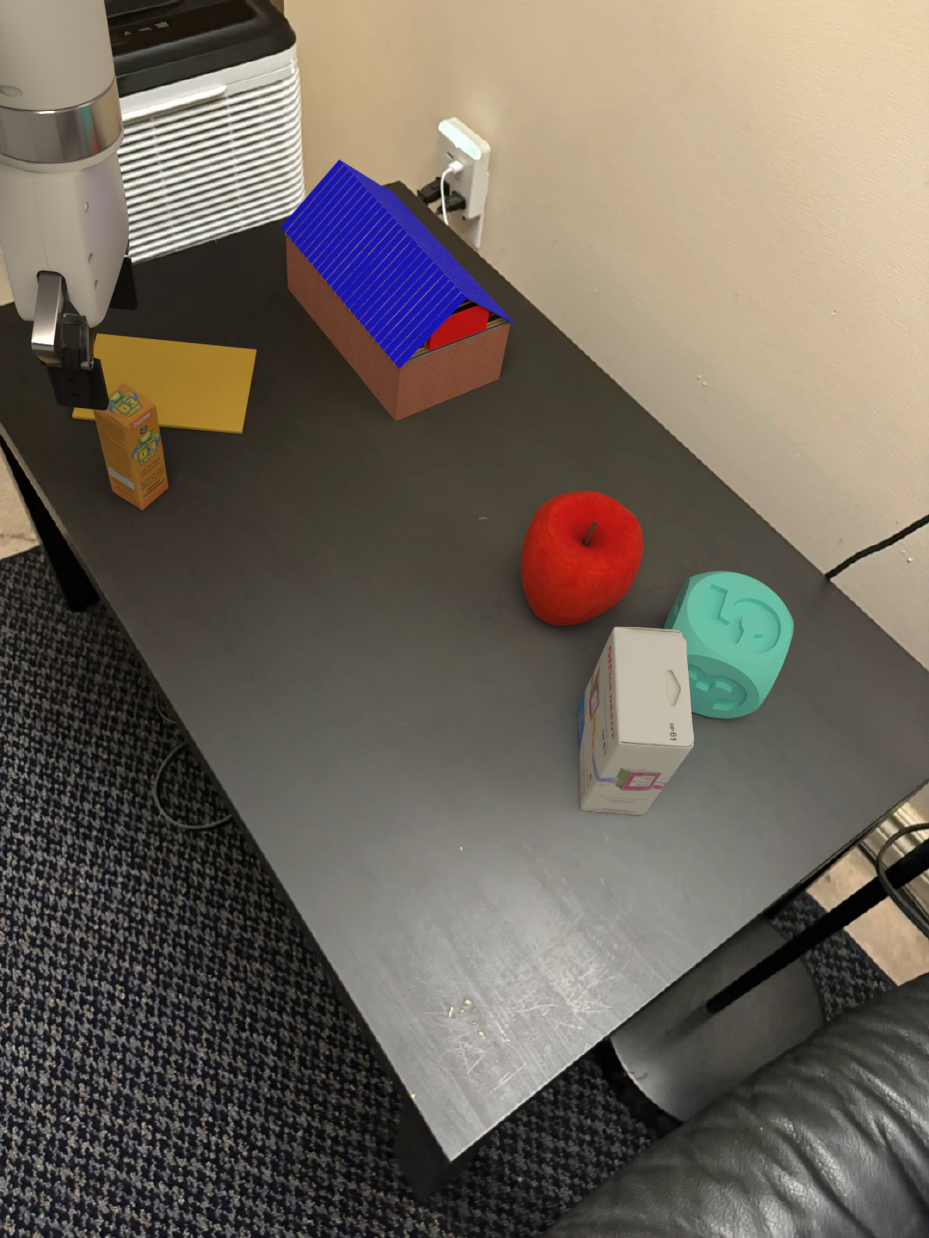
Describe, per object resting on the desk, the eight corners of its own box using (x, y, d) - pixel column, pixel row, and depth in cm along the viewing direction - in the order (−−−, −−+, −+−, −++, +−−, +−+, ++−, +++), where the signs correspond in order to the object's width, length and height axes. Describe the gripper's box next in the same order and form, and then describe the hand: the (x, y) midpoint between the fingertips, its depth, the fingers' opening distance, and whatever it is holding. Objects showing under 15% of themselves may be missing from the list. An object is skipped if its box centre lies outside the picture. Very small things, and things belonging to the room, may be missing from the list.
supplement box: (144, 514, 77) (122, 427, 69) (111, 493, 78) (86, 404, 69) (173, 489, 79) (156, 400, 70) (141, 468, 79) (120, 378, 71)
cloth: (72, 418, 81) (71, 416, 81) (97, 336, 87) (97, 333, 86) (242, 434, 83) (241, 431, 82) (256, 352, 88) (256, 349, 88)
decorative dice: (667, 612, 78) (700, 554, 72) (761, 650, 77) (803, 596, 71) (639, 691, 74) (670, 637, 67) (738, 733, 73) (780, 683, 66)
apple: (567, 674, 74) (601, 597, 65) (483, 604, 76) (505, 520, 67) (636, 607, 78) (677, 526, 69) (554, 543, 81) (583, 456, 71)
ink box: (573, 703, 73) (612, 621, 63) (638, 709, 73) (688, 628, 63) (576, 812, 68) (619, 741, 58) (646, 817, 69) (700, 748, 59)
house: (389, 252, 97) (396, 143, 88) (503, 380, 90) (526, 276, 80) (283, 287, 93) (278, 176, 83) (394, 425, 85) (403, 321, 75)
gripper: (14, 13, 56) (72, 264, 70) (-81, 194, 46) (8, 442, 60) (149, 33, 56) (178, 277, 71) (82, 215, 47) (132, 455, 61)
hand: (100, 353), depth 65 cm, fingers open, 9 cm apart
